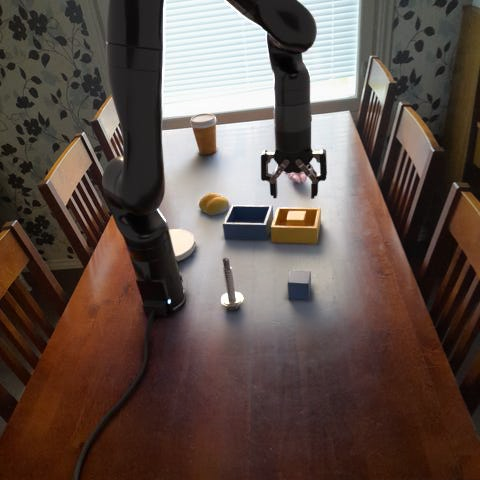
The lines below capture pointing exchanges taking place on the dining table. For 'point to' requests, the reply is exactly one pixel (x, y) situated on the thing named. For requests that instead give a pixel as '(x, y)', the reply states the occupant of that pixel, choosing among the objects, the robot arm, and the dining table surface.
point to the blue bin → (248, 222)
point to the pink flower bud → (297, 176)
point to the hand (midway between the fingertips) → (294, 197)
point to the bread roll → (214, 204)
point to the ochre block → (296, 218)
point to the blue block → (299, 284)
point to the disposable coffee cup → (205, 132)
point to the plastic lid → (182, 243)
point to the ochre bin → (296, 233)
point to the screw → (230, 288)
